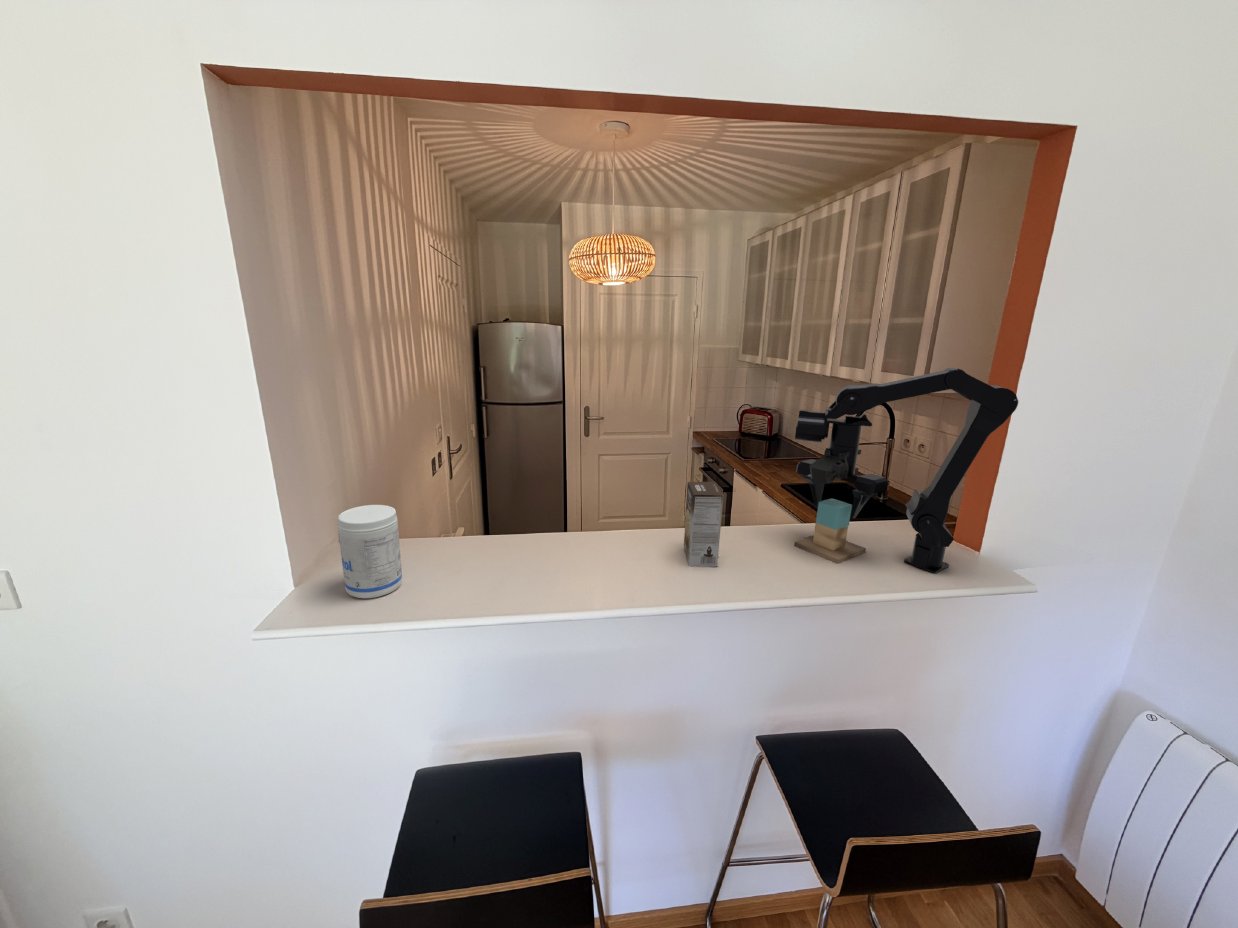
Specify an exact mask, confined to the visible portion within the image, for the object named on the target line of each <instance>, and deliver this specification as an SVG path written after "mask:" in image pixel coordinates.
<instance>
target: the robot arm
mask: <svg viewBox="0 0 1238 928" xmlns="http://www.w3.org/2000/svg"><path fill="white" fill-rule="evenodd" d="M948 390H951V391H953V392H955V393H956V394H959V395H960V396H962V397H963V398H966V399H967V400H968V401H970V403H969V405H968V409H967V411H966V416H965V423H964V426H963V428H962V430H961V431H960V433H959V434H958V436H957V438H956V440H955V442H954V443H953V445H952V446H951V448H950V450H949V452H948V454H947V455H946V457H945V458H944V459H943V462H942V464H941V465H940V467H939V468H938V470H937V472H936V473H935V476H934V477H933V479H932V480H931V481H930V482H931V483H929V485H928V487H926V488H925V489H924V490H923V491H919V490H917V489H914V491H913V493H912V496H911V498H910V499H909V501H907V502H906V503H905V507H906V516H907V519H908V520H909V523H910V525H911V527H912V529H913V530H914V531H915V532H916V534H915V537H914V542H913V549H912V552H911V553H912V554H911V556H909V557H907V558H905V559H903V562H904V563H906V564H909V565H911V566H914V567H917V568H920V569H922V570H925V571H928V572H930V573H933V574H938V573H939V572H941V571H943V570H945V569H947V568H949V566H950V564H949V563H947V562H944V558H945V554H946V550H947V549H946V548H949V547H950V545H951V544H952V543H953V542H954V536H953V535H952V533H950V530H949V529H948V528H947V526H946V525H945V521H946V519H947V516H948V512H949V507H950V503H951V498H952V496H953V495H954V493H955V491H956V489H957V488H958V486H959V485H960V483H961V482H962V480H963V478H964V477H965V475H966V474H967V472H968V470H969V469H970V467H971V465H972V463H973V462H974V461H975V459H976V456H978V454H979V452H980V450H982V447H983V445H984V444H985V442H986V441H987V439H988V437H989V436H990V435H991V434H992V433H993V432H995V431H996V430H997V429H998V428H1000V427H1001V426H1002V425H1004V423H1006V422H1007V420H1008V419H1009V418H1010V417H1011V415H1012V414H1013V413H1014V412H1015V411H1016V410H1017V407H1018V405H1019V399H1018V396H1017V394H1016V393H1015V391H1013V390H1011V389H1010V388H1007V387H1003V386H999V385H993V384H988V383H986V382H984V381H982V380H980V379H977V378H976V377H974V376H971V374H968V373H966V371H964V370H963V369H961V368H956V367H948V368H946V369H944V370H939V371H934V372H931V373H926V374H925V373H924V374H921V375H916V376H912V377H908V378H907V377H906V378H902V379H897V380H893V381H888V382H885V383H873V384H871V383H870V384H850V385H846V386H844V387H843V386H842V387H841V388H840V389H839V390H838V392H837V393H836V396H835V401H833V402H832V403H831V405H829V406H828V407H826V408H827V409H825V411H813V410H808V409H799V411H798V416H797V417H798V418H797V422H796V425H795V426H796V427H795V435H794V440H795V441H803V442H813V443H822V442H823V440H825V439H828V437H829V430H830V424H832V426H831V433H830V441H829V447H825V450H824V454H823V456H822V457H819V458H817V459H814V458H813V459H812V458H811V459H805V460H801V461H799V462H798V464H797V465H796V470H795V472H796V474H798V475H801V476H800V477H801V478H802V479H804V480H805V481H806V482H807V483H808V485H809V488H810V491H811V495H812V500H813V503H814V507H816V508H818V504H819V502H820V501H822V498H823V493H824V489H825V485H826V484H831V483H833V482H834V481H835V480H836V479H837V480H841V481H843V482H847V483H851V484H854V487H855V489H853V490H852V492H851V493H852V494H853V497H854V498H853V502H852V509H851V515H850V519H856V517H857V516H858V515H859V513H860V512H861V510H862V509H863V508H864V506H865V504H867V502H868V501H869V499H870V498H871V497H872V496H873V495H876V494H879V493H882V492H885V491H887V490H888V487H889V486H888V485H889V481H888V480H887V477H885V476H882V475H878V474H877V475H876V474H875V473H866V474H862V475H859V474H858V473H859V467H856V466H857V459H858V455H861V454H862V449H860V448H859V446H860V439H861V432H862V427H872V426H873V423H872V421H871V420H870V419H869V418H868V416H867V414H866V413H863V412H866V411H869V410H872V409H874V408H876V407H879V406H880V405H883V404H885V403H889V402H893V401H899V400H903V399H904V400H905V399H909V398H914V397H918V396H919V397H920V396H923V395H924V396H925V395H929V394H933V393H938V392H942V391H948ZM860 413H862V414H861V415H860V416H854V415H858V414H860ZM841 417H844V419H840V418H841ZM856 473H857V474H856Z"/></svg>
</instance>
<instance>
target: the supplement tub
mask: <svg viewBox="0 0 1238 928" xmlns="http://www.w3.org/2000/svg"><path fill="white" fill-rule="evenodd" d="M337 521H338V523H337V529H338V539H339V546H340V549H339V550H340V555H341V564H342V572H343V581H344V588H345V591H346V593H347V594H348V595H349V596H351V597H354V598H356V599H357V598H358V599H375V598H380V597H383V596H386V595H388V594H390V593H392V592H394V591H396V590H397V589H398V588H399V587H400V586H401V584H402V581H403V570H402V559H401V545H400V535H399V534H400V533H399V521H398V516H397V511H396V509H395V508H394V507H392V506H390V505H386V504H385V505H384V504H367V505H361V506H356V507H351V508H349V509H346V510H344V511H343V512H341V513H340V514H339V515H338V517H337Z"/></svg>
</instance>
